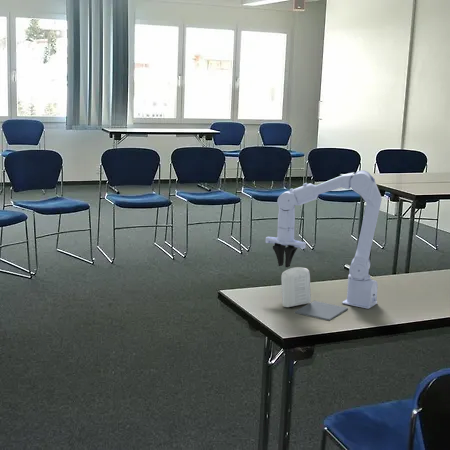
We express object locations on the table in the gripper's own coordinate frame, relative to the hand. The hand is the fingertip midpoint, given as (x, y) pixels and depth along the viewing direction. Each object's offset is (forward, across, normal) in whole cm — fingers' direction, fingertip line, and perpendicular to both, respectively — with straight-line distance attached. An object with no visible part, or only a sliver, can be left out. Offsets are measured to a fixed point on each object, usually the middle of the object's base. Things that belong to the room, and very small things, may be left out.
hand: (284, 266), depth 231 cm
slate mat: (+10, +18, -7) cm, 22 cm away
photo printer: (+10, +9, -7) cm, 15 cm away
